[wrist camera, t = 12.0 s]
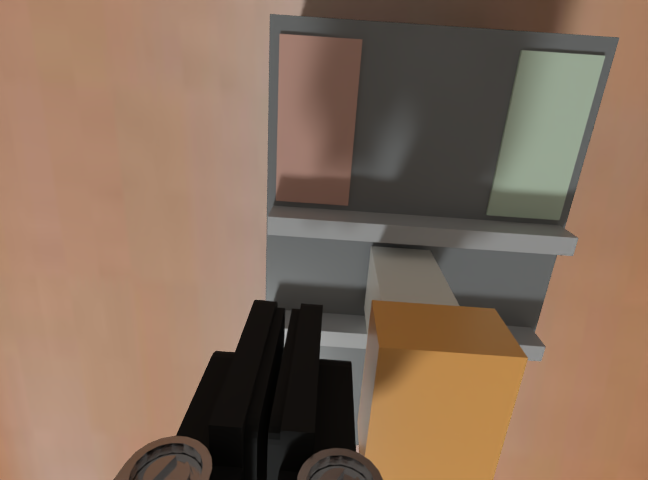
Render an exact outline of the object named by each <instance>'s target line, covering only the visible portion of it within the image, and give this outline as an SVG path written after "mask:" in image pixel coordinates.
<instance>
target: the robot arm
mask: <svg viewBox="0 0 648 480" xmlns="http://www.w3.org/2000/svg"><path fill="white" fill-rule="evenodd" d="M322 312H323V305H318V304H304V303H301V307H300V309H292V310H291V315H290V321H289V326H288V331H287V336H286V341H285V346H284V338H285V308H279V307H278V303H277V301H264V300H254V302H253V305H252V308H251V311H250V313H249V316H248V319H247V321H246V324H245V327H244V329H243V332H242V335H241V338H240V340H239V343H238V346H237V348H236V351H235V352H222V351H215V352H214V353H213V355H212V357H211V359H210V361H209V363H208V366H207V368H206V370H205V372H204V374H203V377H202V379H201V381H200V383H199V386H198V388H197V390H196V392H195V395H194V397H193V399H192V401H191V403H190V406H189V408H188V410H187V412H186V415H185V417H184V419H183V421H182V424H181V426H180V428H179V430H178V433H177V435H176V436H172V437H166V438H161V439H158V440H156V441H153V442H151V443H148V444H147V445H145V446H144V447H142V448H141V449H139V450H138V451H136V452H135V453H134V454H133V455H132V457H131V458H130V459H129V460H128V461H127V462H126V463H125V464H124V466H123V467H122V469H121V470H120V471H119V473H118V474H117V475H116V477H115V478H114V480H383V479H382V476H381V474H380V472H379V470H378V469H377V468H376V467H375V465H374V464H373V463H372V462H371V461H370V460H369V459H367V458H366V457H364V456H363V455H361V454H360V453H357V452H356V441H355V420H354V399H353V378H352V362H351V361H343V360H330V359H319V358H320V343H321V328H322Z"/></svg>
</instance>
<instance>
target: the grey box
mask: <svg viewBox="0 0 648 480" xmlns="http://www.w3.org/2000/svg"><path fill="white" fill-rule="evenodd" d="M618 40H619V38H618V37H603V36H588V35H573V34H558V33H543V32H529V31H514V30H499V29H484V28H469V27H454V26H439V25H424V24H409V23H395V22H380V21H365V20H350V19H335V18H320V17H305V16H290V15H276V14H270V45H269V113H268V180H267V248H266V301H277V303H278V307H279V308H285V338H284V346H285V341H286V336H287V331H288V326H289V321H290V315H291V310H292V309H300V307H301V303H304V304H318V305H323V312H322V328H321V343H320V358H319V359H330V360H343V361H351V362H352V378H353V399H354V420H355V441H356V445H359V442H358V425H357V421H358V413H359V404H360V396H361V387H362V379H363V370H364V362H365V354H366V345H367V329H366V320H365V311H364V304H365V296H366V287H367V278H368V269H369V260H370V251H371V246H377V247H391V248H406V249H420V250H430V251H431V253H432V255H433V257H434V258H435V260H436V262H437V264H438V266H439V268H440V270H441V272H442V274H443V275H444V277H445V279H446V281H447V283H448V285H449V287H450V289H451V291H452V293H453V294H454V296H455V298H456V300H457V302H458V304H459V306H465V307H479V308H493V309H495V310H496V311H497V313H498V314H499V316H500V317H501V318H502V320H503V321H504V323H505V324H506V326H507V327H508V329H509V330H510V332H511V333H512V335H513V336H514V338H515V339H516V341H517V342H518V344H519V345H520V347H521V348H522V350H523V351H524V353H525V354H526V356H527V357H528V360H530V361H541V360H542V357H543V353H544V350H545V346H544V344H543V343H542V342H541V340H540V339H539V338H538V336H537V335H536V334H535V330H536V326H537V323H538V319H539V316H540V312H541V309H542V305H543V302H544V298H545V295H546V291H547V288H548V284H549V281H550V277H551V274H552V270H553V267H554V263H555V260H556V257H557V255H567V256H573V254H574V251H575V248H576V244H577V241H578V238H577V237H576V236H575V235H573V234H572V233H570V232H569V231H567V230H566V229H565V225H566V222H567V218H568V215H569V211H570V208H571V204H572V201H573V197H574V194H575V190H576V187H577V183H578V180H579V176H580V173H581V169H582V166H583V162H584V159H585V155H586V152H587V148H588V145H589V141H590V138H591V134H592V131H593V128H594V124H595V121H596V117H597V114H598V110H599V107H600V103H601V100H602V96H603V93H604V89H605V86H606V82H607V79H608V75H609V72H610V68H611V65H612V61H613V58H614V54H615V51H616V47H617V44H618Z"/></svg>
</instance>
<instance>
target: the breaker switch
mask: <svg viewBox="0 0 648 480" xmlns="http://www.w3.org/2000/svg"><path fill="white" fill-rule="evenodd" d="M364 311H365V320H366V329H367V345H366V354H365V362H364V370H363V379H362V387H361V396H360V404H359V413H358V421H357V425H358V442H359V453H360V454H361V455H363V456H364V457H366V458H367V459H369V460H370V461H371V462H372V463H373V464H374V465H375V467H376V468H377V469H378V470H379V472H380V474H381V476H382V479H383V480H493V478H494V474H495V471H496V467H497V464H498V460H499V457H500V454H501V450H502V447H503V443H504V440H505V436H506V433H507V429H508V426H509V422H510V419H511V415H512V412H513V408H514V405H515V401H516V398H517V394H518V391H519V387H520V384H521V380H522V377H523V374H524V370H525V367H526V363H527V360H528V357H527V356H526V354H525V353H524V351H523V350H522V348H521V347H520V345H519V344H518V342H517V341H516V339H515V338H514V336H513V335H512V333H511V332H510V330H509V329H508V327H507V326H506V324H505V323H504V321H503V320H502V318H501V317H500V316H499V314H498V313H497V311H496V310H495V309H493V308H479V307H465V306H459V304H458V302H457V300H456V298H455V296H454V294H453V293H452V291H451V289H450V287H449V285H448V283H447V281H446V279H445V277H444V275H443V274H442V272H441V270H440V268H439V266H438V264H437V262H436V260H435V258H434V257H433V255H432V253H431V251H430V250H420V249H406V248H391V247H377V246H371V251H370V260H369V269H368V278H367V287H366V296H365V304H364Z"/></svg>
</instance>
